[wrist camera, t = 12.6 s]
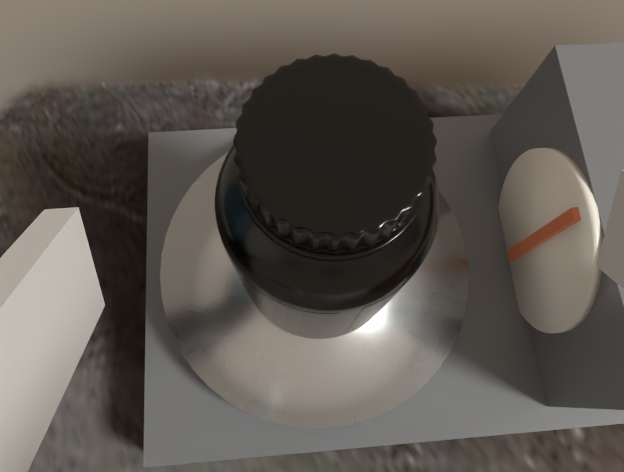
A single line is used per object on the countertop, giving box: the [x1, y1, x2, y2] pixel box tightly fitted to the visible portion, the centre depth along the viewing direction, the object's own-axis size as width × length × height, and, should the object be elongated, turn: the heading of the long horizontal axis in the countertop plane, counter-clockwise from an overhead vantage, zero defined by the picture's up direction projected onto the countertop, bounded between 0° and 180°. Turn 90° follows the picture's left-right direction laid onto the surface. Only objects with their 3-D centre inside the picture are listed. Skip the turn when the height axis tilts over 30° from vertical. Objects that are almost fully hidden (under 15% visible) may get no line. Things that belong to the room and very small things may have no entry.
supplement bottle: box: [215, 54, 440, 339], centre depth 17 cm, size 7×7×12 cm
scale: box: [143, 43, 624, 468], centre depth 23 cm, size 22×16×10 cm
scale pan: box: [160, 153, 469, 429], centre depth 24 cm, size 14×14×1 cm
